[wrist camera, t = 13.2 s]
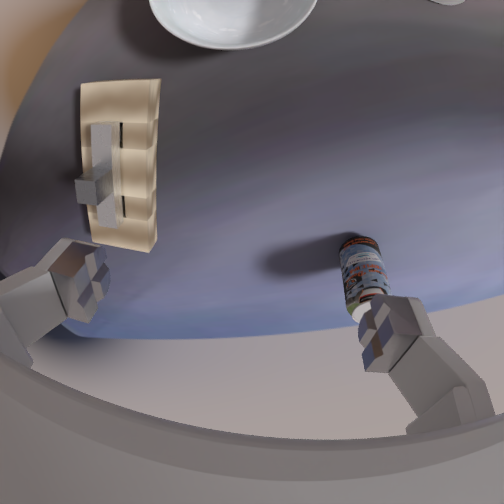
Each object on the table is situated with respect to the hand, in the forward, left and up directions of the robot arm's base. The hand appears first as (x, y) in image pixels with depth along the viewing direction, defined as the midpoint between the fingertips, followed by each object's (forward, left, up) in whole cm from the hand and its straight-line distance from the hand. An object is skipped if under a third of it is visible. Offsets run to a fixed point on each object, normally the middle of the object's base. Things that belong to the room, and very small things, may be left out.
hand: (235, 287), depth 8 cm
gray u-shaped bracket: (+8, -19, -29) cm, 36 cm away
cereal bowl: (-16, -6, -29) cm, 34 cm away
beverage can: (+16, +16, -29) cm, 37 cm away
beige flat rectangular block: (+8, -19, -29) cm, 36 cm away
